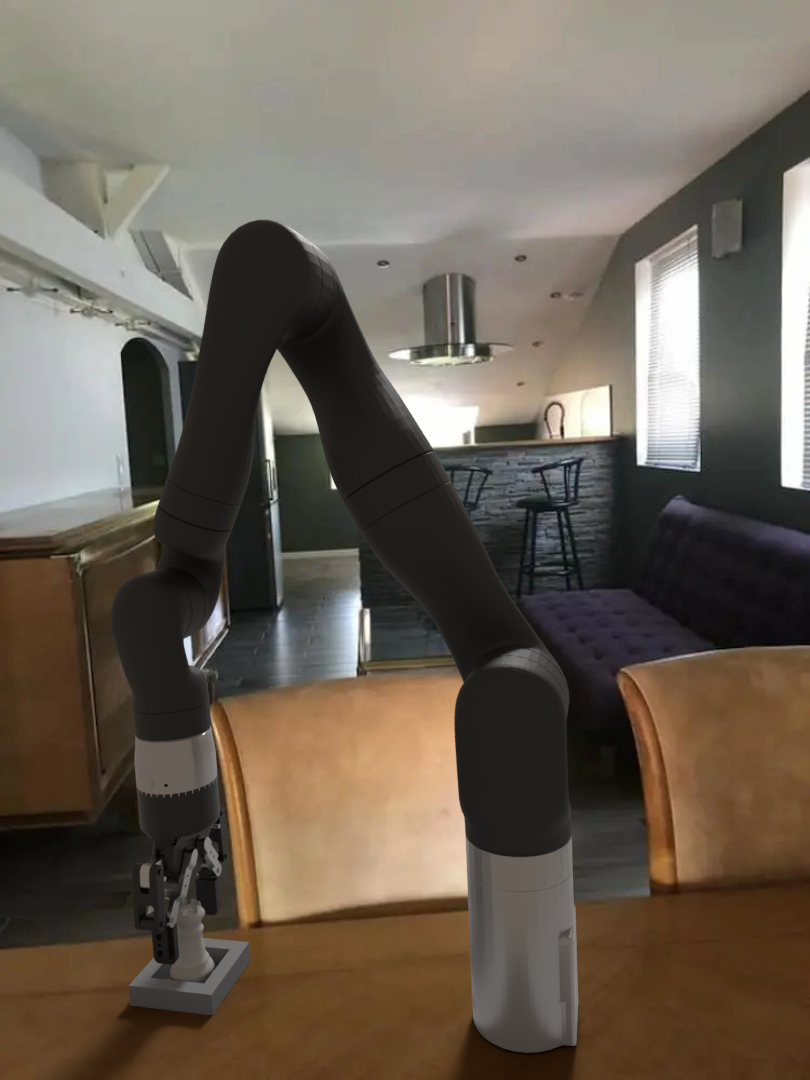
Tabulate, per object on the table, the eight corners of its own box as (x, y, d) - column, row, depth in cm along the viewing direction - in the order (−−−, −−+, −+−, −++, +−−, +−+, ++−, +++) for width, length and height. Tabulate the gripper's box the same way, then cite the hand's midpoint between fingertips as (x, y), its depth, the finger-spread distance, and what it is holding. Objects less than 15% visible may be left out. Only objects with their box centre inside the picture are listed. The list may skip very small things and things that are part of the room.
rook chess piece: (159, 990, 81) (153, 912, 80) (191, 964, 85) (185, 890, 84) (195, 1002, 79) (189, 921, 78) (225, 975, 83) (220, 898, 82)
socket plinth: (250, 960, 85) (249, 942, 85) (212, 1015, 77) (211, 994, 77) (175, 953, 87) (173, 935, 87) (130, 1005, 79) (128, 985, 79)
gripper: (175, 808, 72) (189, 985, 74) (244, 751, 86) (254, 901, 88) (99, 804, 74) (113, 976, 76) (178, 748, 88) (189, 895, 89)
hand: (189, 936), depth 82 cm, fingers open, 8 cm apart
